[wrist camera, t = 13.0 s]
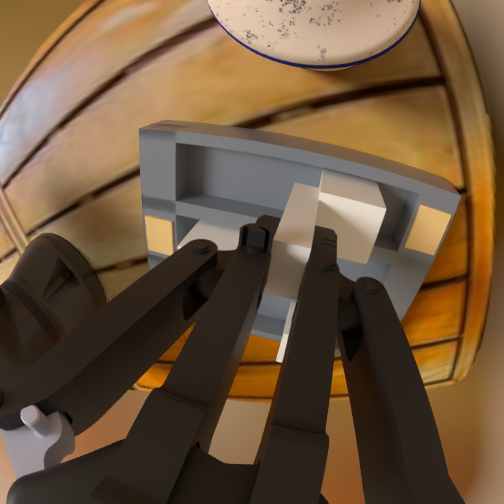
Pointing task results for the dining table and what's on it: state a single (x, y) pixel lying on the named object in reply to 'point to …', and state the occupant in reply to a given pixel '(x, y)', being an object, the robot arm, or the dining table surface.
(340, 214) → the tab
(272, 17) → the teacup with lid
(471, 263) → the dining table surface
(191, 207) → the switch bank
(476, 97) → the dining table surface
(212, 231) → the tab
